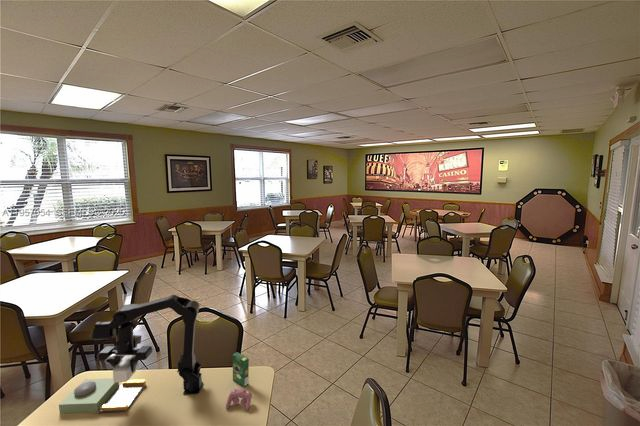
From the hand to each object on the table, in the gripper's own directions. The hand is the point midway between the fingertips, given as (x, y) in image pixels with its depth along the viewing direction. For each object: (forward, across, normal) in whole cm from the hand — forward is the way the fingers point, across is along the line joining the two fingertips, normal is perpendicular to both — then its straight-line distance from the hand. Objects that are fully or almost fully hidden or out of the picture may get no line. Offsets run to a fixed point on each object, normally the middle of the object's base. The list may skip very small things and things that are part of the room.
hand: (126, 371), depth 119 cm
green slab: (+12, +15, 0) cm, 19 cm away
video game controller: (+11, -47, +6) cm, 49 cm away
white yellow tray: (+12, +2, 0) cm, 12 cm away
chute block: (+1, 0, 0) cm, 1 cm away
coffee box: (+11, -45, -7) cm, 47 cm away
